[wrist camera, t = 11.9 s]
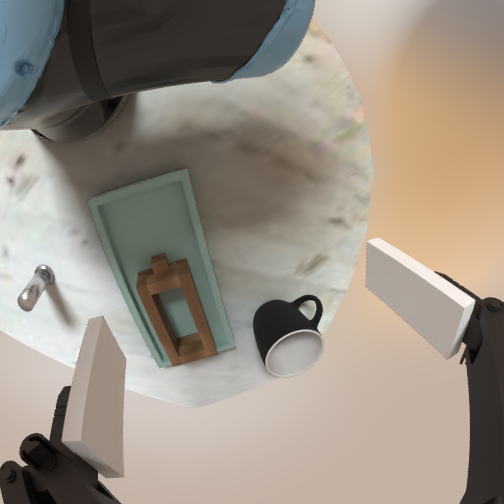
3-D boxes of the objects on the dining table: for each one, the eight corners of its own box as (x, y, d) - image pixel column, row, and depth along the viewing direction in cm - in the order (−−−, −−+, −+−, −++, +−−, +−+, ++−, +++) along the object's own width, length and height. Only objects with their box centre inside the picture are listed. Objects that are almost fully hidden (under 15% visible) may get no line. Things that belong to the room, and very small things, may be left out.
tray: (91, 197, 33) (87, 201, 31) (186, 167, 35) (187, 169, 34) (158, 359, 45) (159, 368, 43) (232, 338, 47) (235, 347, 46)
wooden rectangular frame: (171, 347, 44) (172, 366, 40) (134, 261, 37) (131, 276, 33) (212, 335, 45) (217, 354, 41) (183, 246, 38) (185, 260, 34)
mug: (272, 344, 50) (293, 384, 41) (234, 323, 46) (251, 366, 37) (319, 294, 49) (350, 329, 40) (285, 267, 45) (314, 301, 36)
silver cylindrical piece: (32, 267, 34) (11, 295, 27) (48, 262, 34) (28, 289, 27) (41, 286, 35) (22, 316, 28) (57, 281, 36) (39, 311, 29)
